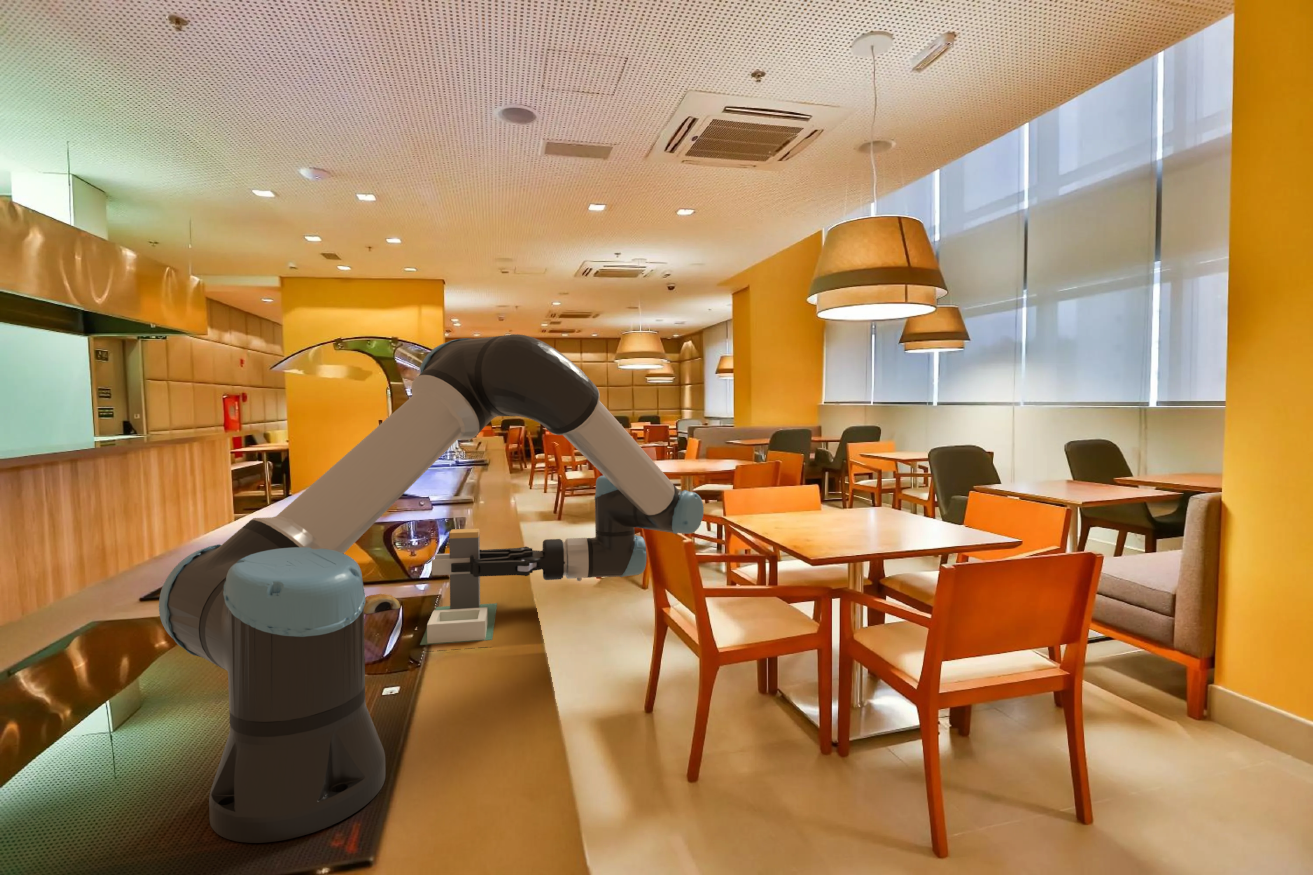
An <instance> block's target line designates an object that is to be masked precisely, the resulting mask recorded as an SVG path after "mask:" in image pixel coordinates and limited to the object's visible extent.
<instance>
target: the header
mask: <svg viewBox="0 0 1313 875" xmlns="http://www.w3.org/2000/svg"><path fill="white" fill-rule="evenodd" d="M487 626H488V609H487V607H483V608H467V609H450V610H435V609H434V610H432V613H431V616H430V618H429V620H428V621H427V624H426V629H427V644H428V645H430V644H429V643H442V644H444V643H443V642H457V641H471V640H485V638H486V632H487ZM485 641H486V640H485ZM471 642H472V641H471ZM457 643H458V642H457Z"/></svg>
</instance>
